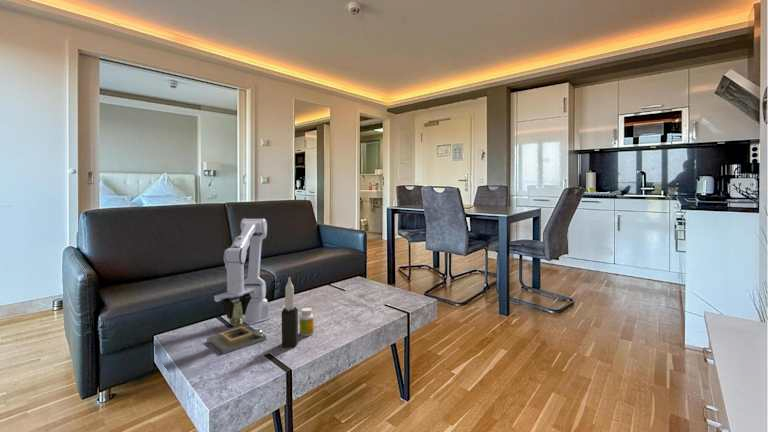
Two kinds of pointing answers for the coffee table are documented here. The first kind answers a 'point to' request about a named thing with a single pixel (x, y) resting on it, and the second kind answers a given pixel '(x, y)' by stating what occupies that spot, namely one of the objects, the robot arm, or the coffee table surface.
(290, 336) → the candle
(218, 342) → the square peg board
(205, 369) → the coffee table surface
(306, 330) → the supplement bottle
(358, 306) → the coffee table surface
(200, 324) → the coffee table surface
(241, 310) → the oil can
